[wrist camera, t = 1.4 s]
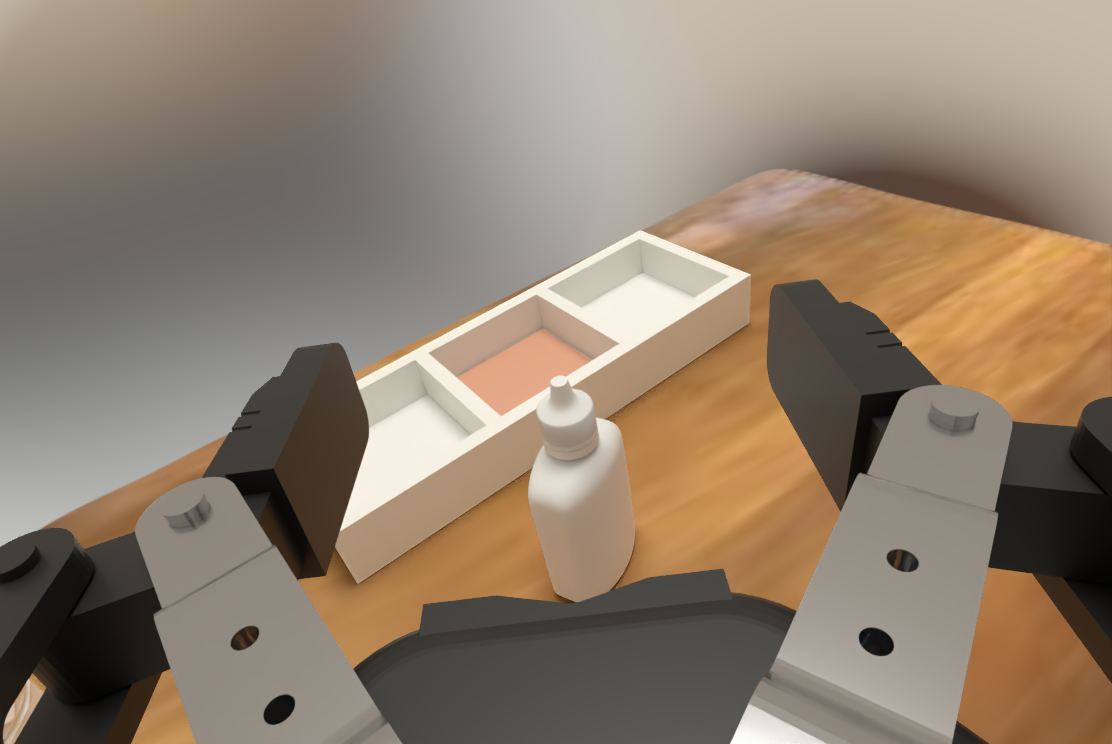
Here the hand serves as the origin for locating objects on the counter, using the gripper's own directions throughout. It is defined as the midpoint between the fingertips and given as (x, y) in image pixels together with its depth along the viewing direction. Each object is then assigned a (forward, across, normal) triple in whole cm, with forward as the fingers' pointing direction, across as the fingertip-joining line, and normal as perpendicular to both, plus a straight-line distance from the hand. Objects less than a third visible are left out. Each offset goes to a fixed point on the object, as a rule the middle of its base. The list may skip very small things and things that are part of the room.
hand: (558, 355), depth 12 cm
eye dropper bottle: (+12, 0, +20) cm, 24 cm away
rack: (+26, +3, +19) cm, 32 cm away
